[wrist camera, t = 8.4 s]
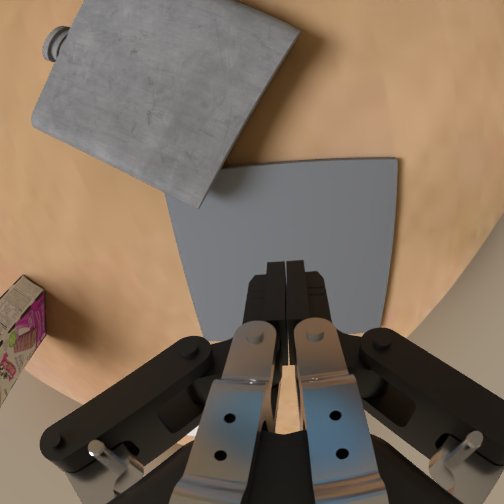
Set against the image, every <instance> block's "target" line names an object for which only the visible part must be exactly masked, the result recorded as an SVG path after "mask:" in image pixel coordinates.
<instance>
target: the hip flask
mask: <svg viewBox="0 0 504 504" xmlns="http://www.w3.org/2000/svg"><path fill="white" fill-rule="evenodd" d="M300 33H301V30H299V29H297V28H295V27H293V26H291V25H289V24H287V23H285V22H283V21H281V20H279V19H277V18H275V17H273V16H271V15H268V14H266V13H264V12H262V11H259V10H257V9H255V8H252V7H250V6H247V5H245V4H242V3H240V2H237V1H235V0H84V2H83V4H82V6H81V8H80V10H79V12H78V14H77V16H76V17H75V19H74V21H73V23H72V25H71V27H66V26H60V27H57V28H55V29H54V30H53V31H52V32H51V33H50V34H49V35H48V37H47V38H46V40H45V42H44V45H43V56H44V58H45V59H46V60H47V61H51V62H55V64H54V66H53V68H52V70H51V73H50V75H49V77H48V79H47V81H46V84H45V86H44V88H43V90H42V93H41V95H40V97H39V99H38V101H37V104H36V106H35V108H34V110H33V113H32V118H31V123H32V126H33V127H34V128H36V129H38V130H40V131H42V132H44V133H46V134H48V135H50V136H52V137H54V138H56V139H58V140H60V141H62V142H65V143H67V144H69V145H71V146H73V147H75V148H77V149H79V150H81V151H83V152H85V153H87V154H89V155H91V156H93V157H95V158H97V159H99V160H101V161H103V162H105V163H107V164H109V165H111V166H113V167H115V168H117V169H119V170H121V171H123V172H125V173H127V174H129V175H131V176H133V177H135V178H137V179H139V180H141V181H143V182H145V183H147V184H149V185H151V186H153V187H155V188H157V189H159V190H161V191H163V192H165V193H167V194H169V195H171V196H173V197H175V198H177V199H179V200H181V201H183V202H185V203H187V204H188V205H190V206H192V207H194V208H196V209H199V208H200V207H201V205H202V203H203V201H204V200H205V198H206V196H207V194H208V192H209V190H210V188H211V186H212V185H213V183H214V181H215V179H216V177H217V175H218V173H219V172H220V170H221V168H222V166H223V164H224V162H225V160H226V159H227V157H228V155H229V153H230V151H231V150H232V148H233V146H234V144H235V142H236V141H237V139H238V137H239V135H240V133H241V132H242V130H243V128H244V126H245V125H246V123H247V121H248V119H249V118H250V116H251V114H252V112H253V111H254V109H255V107H256V106H257V104H258V102H259V100H260V99H261V97H262V95H263V94H264V92H265V90H266V89H267V87H268V85H269V84H270V82H271V80H272V79H273V77H274V75H275V74H276V72H277V71H278V69H279V67H280V66H281V64H282V62H283V61H284V59H285V58H286V56H287V54H288V53H289V51H290V50H291V48H292V47H293V45H294V43H295V42H296V40H297V38H298V37H299V35H300Z"/></svg>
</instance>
